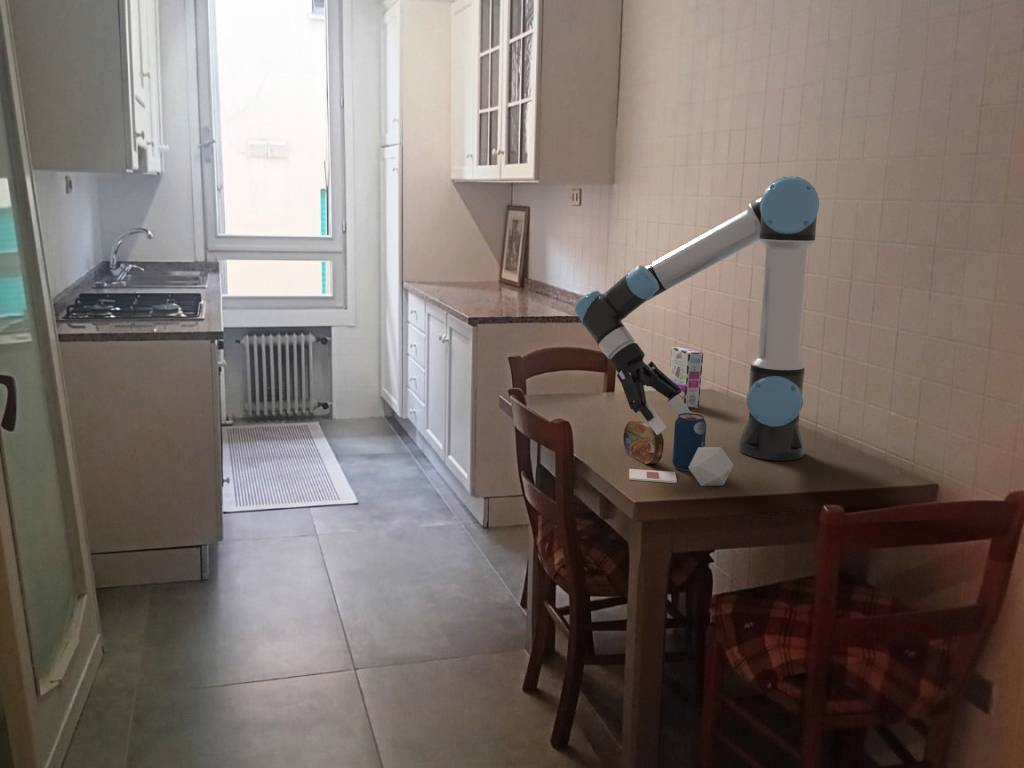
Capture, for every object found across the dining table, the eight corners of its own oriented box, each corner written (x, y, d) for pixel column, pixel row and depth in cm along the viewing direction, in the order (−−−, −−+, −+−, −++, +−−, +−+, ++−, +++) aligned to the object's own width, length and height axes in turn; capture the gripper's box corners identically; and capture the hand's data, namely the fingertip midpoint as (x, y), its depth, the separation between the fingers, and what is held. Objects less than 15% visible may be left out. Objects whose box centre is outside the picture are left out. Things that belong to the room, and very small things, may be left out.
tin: (621, 451, 228) (623, 416, 226) (633, 450, 229) (635, 416, 228) (652, 469, 214) (654, 432, 213) (664, 468, 215) (667, 431, 214)
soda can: (707, 471, 214) (712, 419, 211) (678, 472, 212) (682, 419, 210) (695, 462, 220) (699, 412, 218) (666, 463, 219) (670, 412, 216)
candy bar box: (699, 408, 276) (704, 352, 272) (684, 409, 274) (688, 352, 271) (681, 400, 286) (686, 346, 283) (666, 400, 285) (670, 346, 281)
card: (675, 473, 211) (675, 471, 211) (676, 483, 204) (676, 480, 204) (629, 470, 212) (629, 468, 212) (629, 479, 205) (629, 477, 205)
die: (725, 495, 200) (745, 455, 202) (691, 474, 199) (711, 434, 201) (710, 497, 208) (729, 458, 210) (676, 476, 207) (696, 438, 209)
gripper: (638, 354, 233) (689, 425, 228) (583, 367, 214) (637, 445, 208) (659, 335, 229) (712, 407, 224) (604, 347, 210) (661, 426, 204)
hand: (676, 426), depth 216 cm, fingers open, 13 cm apart
